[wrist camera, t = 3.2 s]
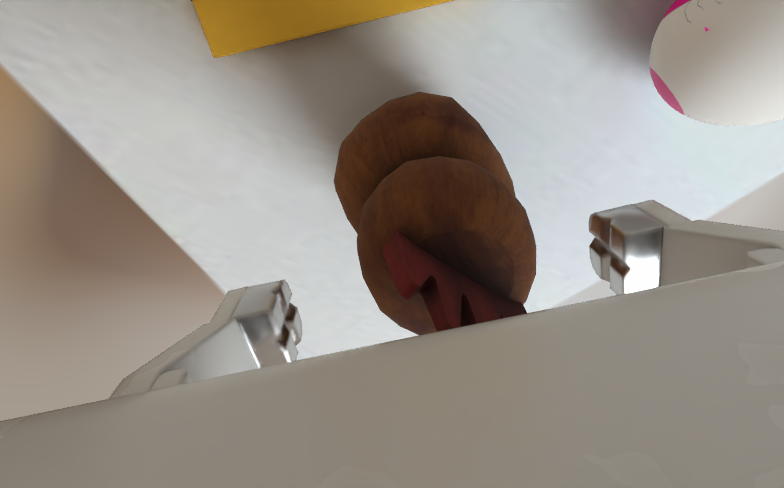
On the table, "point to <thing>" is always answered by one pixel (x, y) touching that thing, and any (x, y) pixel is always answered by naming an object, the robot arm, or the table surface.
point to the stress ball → (722, 60)
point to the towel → (287, 19)
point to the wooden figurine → (435, 216)
